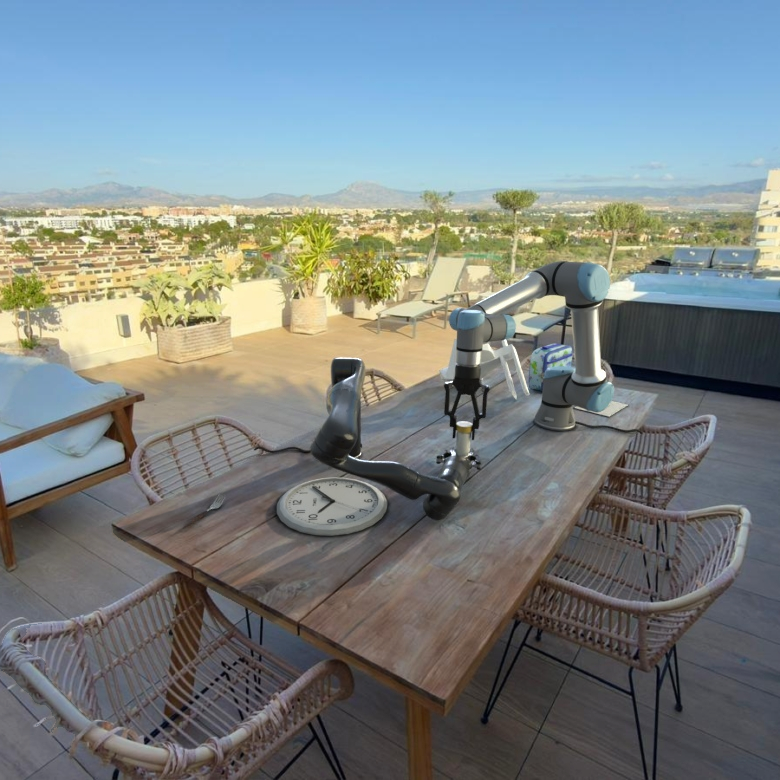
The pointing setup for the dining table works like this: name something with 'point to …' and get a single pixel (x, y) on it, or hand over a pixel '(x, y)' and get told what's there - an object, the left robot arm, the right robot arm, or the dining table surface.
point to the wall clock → (331, 506)
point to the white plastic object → (490, 365)
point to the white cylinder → (463, 443)
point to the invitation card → (608, 408)
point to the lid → (464, 426)
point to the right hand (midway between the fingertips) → (463, 437)
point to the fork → (213, 506)
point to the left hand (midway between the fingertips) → (463, 450)
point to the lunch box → (547, 362)
